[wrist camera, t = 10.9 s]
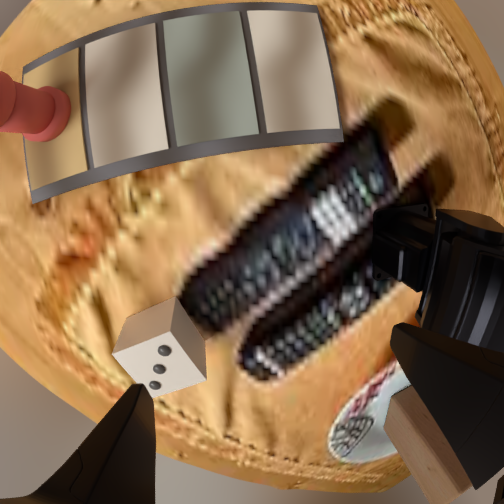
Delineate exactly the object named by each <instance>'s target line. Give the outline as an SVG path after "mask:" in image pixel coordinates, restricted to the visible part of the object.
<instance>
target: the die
mask: <svg viewBox="0 0 504 504" xmlns="http://www.w3.org/2000/svg"><path fill="white" fill-rule="evenodd" d="M112 355H113V356H114V357H115V359H116V360H117V361H118V362H119V363H120V364H121V366H122V367H123V368H124V369H125V370H126V371H127V373H128V374H129V375H130V376H131V377H132V378H133V379H134V380H135V381H136V382H137V384H138V383H143V384H144V385H145V386H146V388H147V390H148V392H149V393H150V395H151V397H152V398H154V397H157V396H161V395H164V394H167V393H170V392H174V391H177V390H180V389H183V388H186V387H189V386H192V385H195V384H198V383H201V382H204V381H206V380H207V375H206V354H205V341H204V339H203V338H202V336H201V335H200V333H199V331H198V330H197V328H196V327H195V325H194V324H193V322H192V321H191V319H190V318H189V316H188V315H187V313H186V311H185V310H184V308H183V307H182V305H181V303H180V302H179V300H178V298H177V297H176V296H175V297H172V298H170V299H168V300H166V301H163V302H161V303H159V304H157V305H155V306H152V307H150V308H148V309H146V310H143V311H141V312H139V313H137V314H134V315H132V316H130V317H128V318H126V320H125V323H124V325H123V327H122V330H121V332H120V335H119V337H118V340H117V342H116V345H115V347H114V350H113V353H112Z"/></svg>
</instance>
